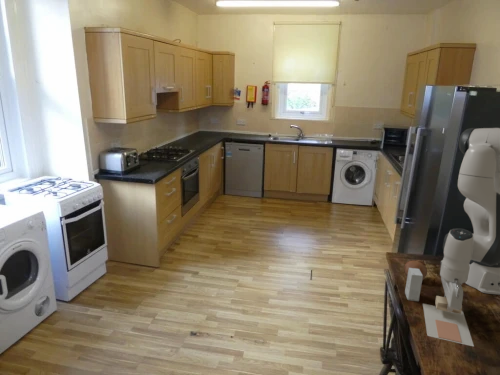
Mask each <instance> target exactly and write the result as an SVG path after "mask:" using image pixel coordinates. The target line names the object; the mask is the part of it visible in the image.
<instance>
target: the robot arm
mask: <svg viewBox="0 0 500 375" xmlns="http://www.w3.org/2000/svg"><path fill="white" fill-rule="evenodd" d="M458 149H459V150H460V152H461V154H463V159H462V162H461V164H460V168H459V173H458V179H457V188H458V190H459V192H460V194H461V195H462V196H463V197H465V200H464V201H463V210H464V212H465V213H466V214H467V216H468V217H469V220H470V221H471V225H472V229H473V233H472V231H470V230H469V229H468V230H467V229H465V228H452V229H450V230H449V232H448V233H446V234H445V235H444V238H443V243H442V250H443V258H442V260H440V270H439V276H440V280H441V281H440V282H441V283H442V287H443V291H444V296H443V297H446V298H447V302H448V304H447V310H448V311H453V309H456V310H460V309H461V307H462V308H463V305H462V304H463V298H464V289H463V286H462V285H463V284H466V285H467V286H470V287H471V288H474V289H476V290H478V291H480V292H481V293H484V294H490V295H499V296H500V127H483V128H482V127H481V128H479V127H478V128H477V127H471V128H467V129H465V130H463V132H461V134H460V136H459V138H458Z"/></svg>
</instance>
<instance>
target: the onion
mask: <svg viewBox="0 0 500 375" xmlns="http://www.w3.org/2000/svg"><path fill="white" fill-rule="evenodd" d="M403 266H404V267H403V271H404V273H405V276H406V277H407V276H408V270H409V268H416V269H420V271H421V273H422V275H423V279H422V282H423V281H424V280H425V278H426V277H427V276H428V268H427V265H426V264H425V262H424V261H423V260H421V259H414V260H412V259H411V260H408V261H407V262H406V263H405V264H404V265H403Z"/></svg>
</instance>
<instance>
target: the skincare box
mask: <svg viewBox="0 0 500 375" xmlns="http://www.w3.org/2000/svg"><path fill="white" fill-rule="evenodd" d="M422 279H423V275H422V273H421V271H420V269H416V268H409V270H408V276H407V275H406V282H405V283H406V284H405V290H404V295H405V296H406V299H407V300H408V301H413V302H419V301H420V294H421V291H422V285H423V284H422V283H423V281H422Z"/></svg>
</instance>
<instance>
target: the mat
mask: <svg viewBox="0 0 500 375" xmlns="http://www.w3.org/2000/svg"><path fill="white" fill-rule="evenodd" d="M422 307H423V314H424V316H423V317H424V322H425V330H426V334H427V337H431V338H435V339H439V340H443V341H444V340H445V341H447V342H452V343H456V344H462V345H464V346H468V347H469V346H470V347H475V345H474V341H473V339H472V336H471V332H470V330H469V326H468V323H467V320H466V316H465V314H464V311H463V310H462V311H461V314H459V313H454V312H449V311H443V310H438V309H437V308H436V305H432V304H427V303H422Z"/></svg>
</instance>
